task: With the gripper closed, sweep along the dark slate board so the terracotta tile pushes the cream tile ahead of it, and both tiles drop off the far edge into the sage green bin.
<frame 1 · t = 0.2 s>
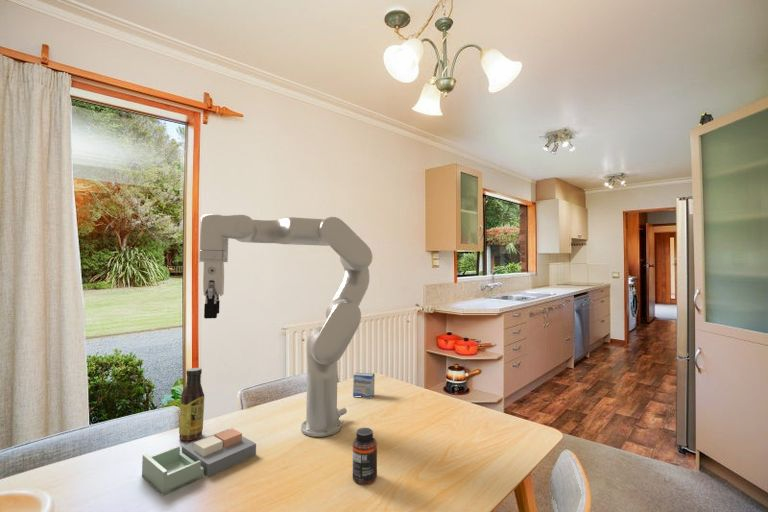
hand: (212, 315, 103), 36 cm above the table, tool pointing down, fingers open, 9 cm apart
sauce bottle: (191, 437, 106), on the table
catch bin: (172, 476, 86), on the table
supplement bottle: (364, 479, 86), on the table
cream tile: (208, 449, 93), point 3 cm above the table, touching slate board
medicine box: (363, 396, 141), on the table
terracotta tile: (228, 441, 97), point 3 cm above the table, touching slate board
slate board: (219, 456, 95), on the table
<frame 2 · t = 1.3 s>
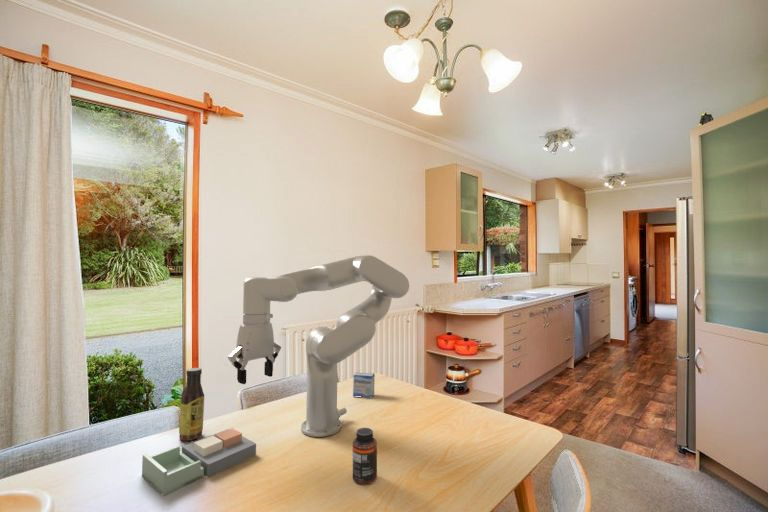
hand: (255, 379, 104), 18 cm above the table, tool pointing down, fingers open, 8 cm apart
nothing on the table moved.
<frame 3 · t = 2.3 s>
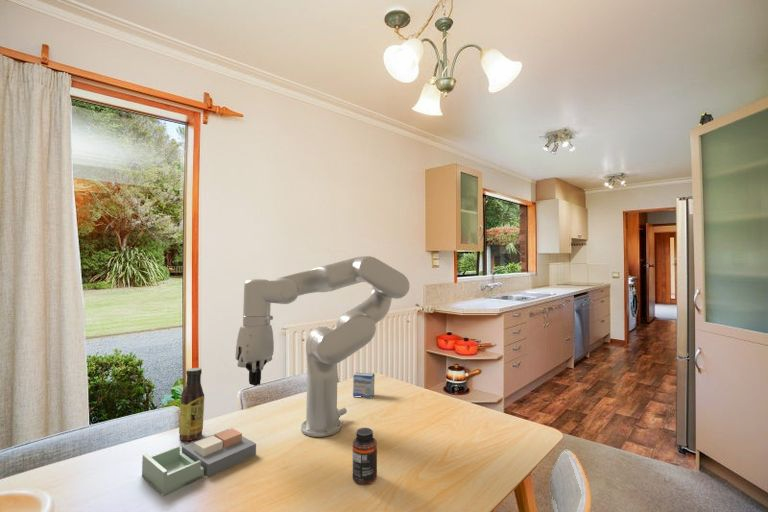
hand: (254, 384, 104), 17 cm above the table, tool pointing down, fingers closed
nothing on the table moved.
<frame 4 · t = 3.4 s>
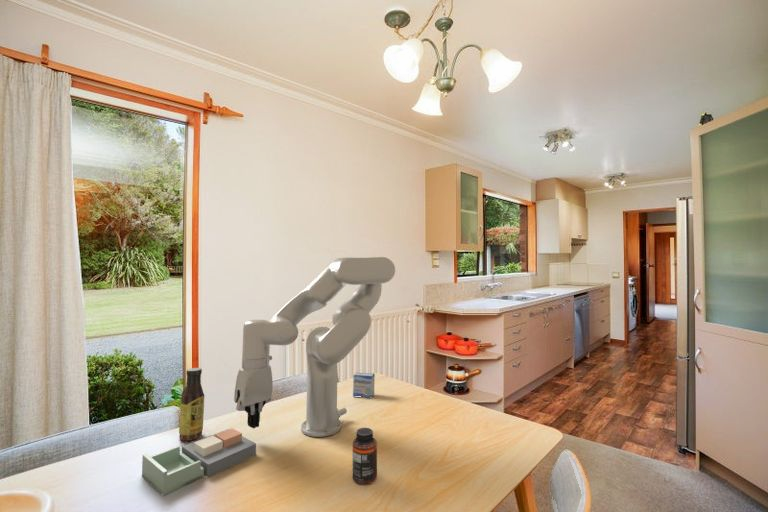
hand: (253, 426, 103), 4 cm above the table, tool pointing down, fingers closed
nothing on the table moved.
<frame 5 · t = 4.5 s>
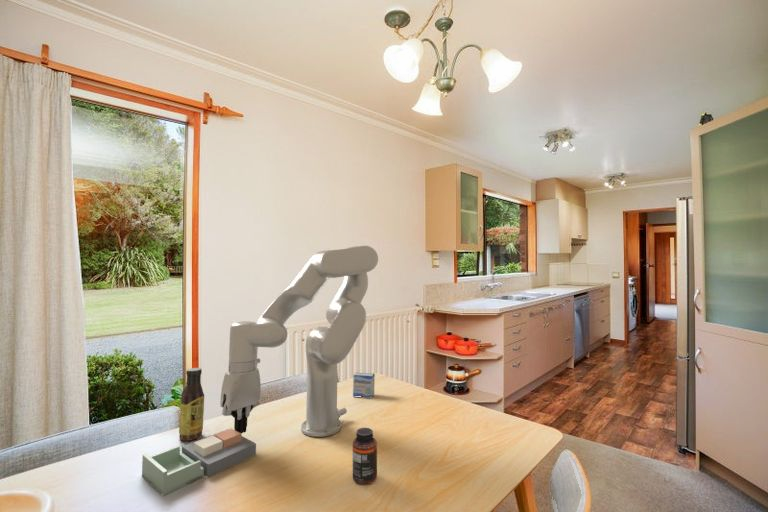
hand: (240, 431, 100), 4 cm above the table, tool pointing down, fingers closed
terracotta tile: (227, 441, 97), point 3 cm above the table, touching gripper
everything else where it was.
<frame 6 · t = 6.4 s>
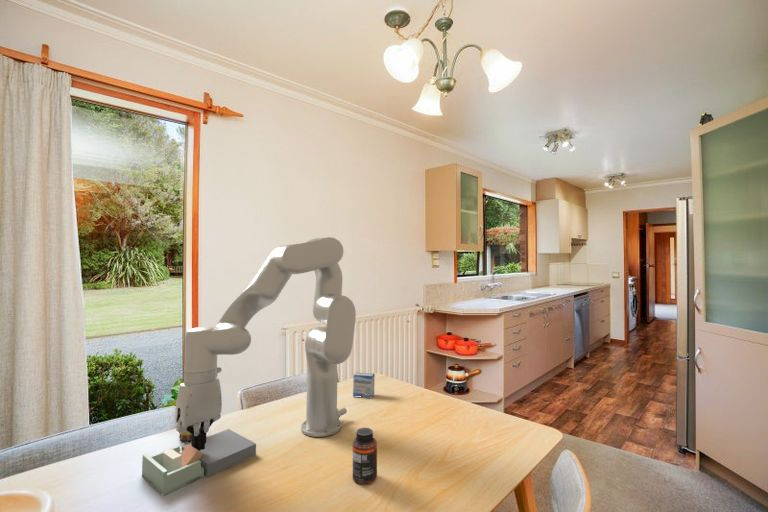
hand: (198, 448, 91), 4 cm above the table, tool pointing down, fingers closed
cream tile: (176, 462, 86), point 3 cm above the table, tilted 90°, touching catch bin, terracotta tile
terracotta tile: (190, 460, 89), point 2 cm above the table, tilted 39°, touching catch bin, cream tile, gripper
everything else where it was.
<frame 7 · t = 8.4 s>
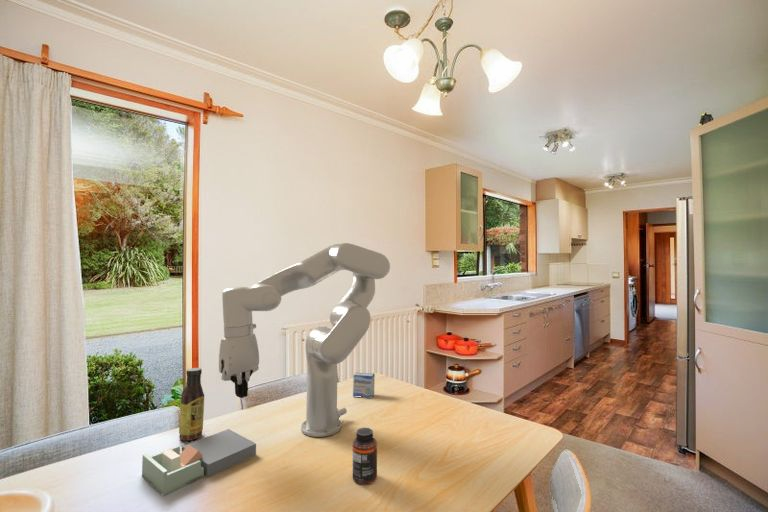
hand: (241, 396, 100), 14 cm above the table, tool pointing down, fingers closed
cream tile: (175, 463, 86), point 3 cm above the table, tilted 90°, touching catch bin
terracotta tile: (189, 461, 89), point 2 cm above the table, tilted 35°, touching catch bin, slate board
everything else where it was.
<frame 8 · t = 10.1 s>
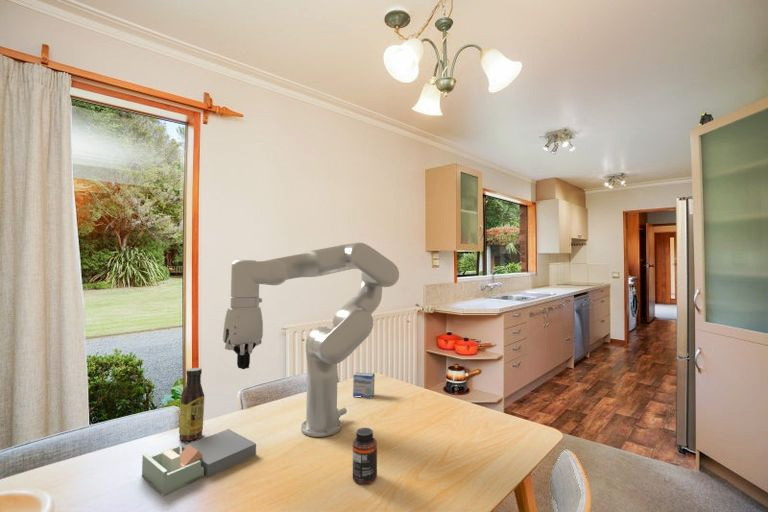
hand: (243, 367, 101), 22 cm above the table, tool pointing down, fingers closed
nothing on the table moved.
at the end: terracotta tile inside the target area on the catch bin (4.0 cm from its centre), point 2.1 cm above the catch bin's base; cream tile inside the target area on the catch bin (0.7 cm from its centre), point 3.1 cm above the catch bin's base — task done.
